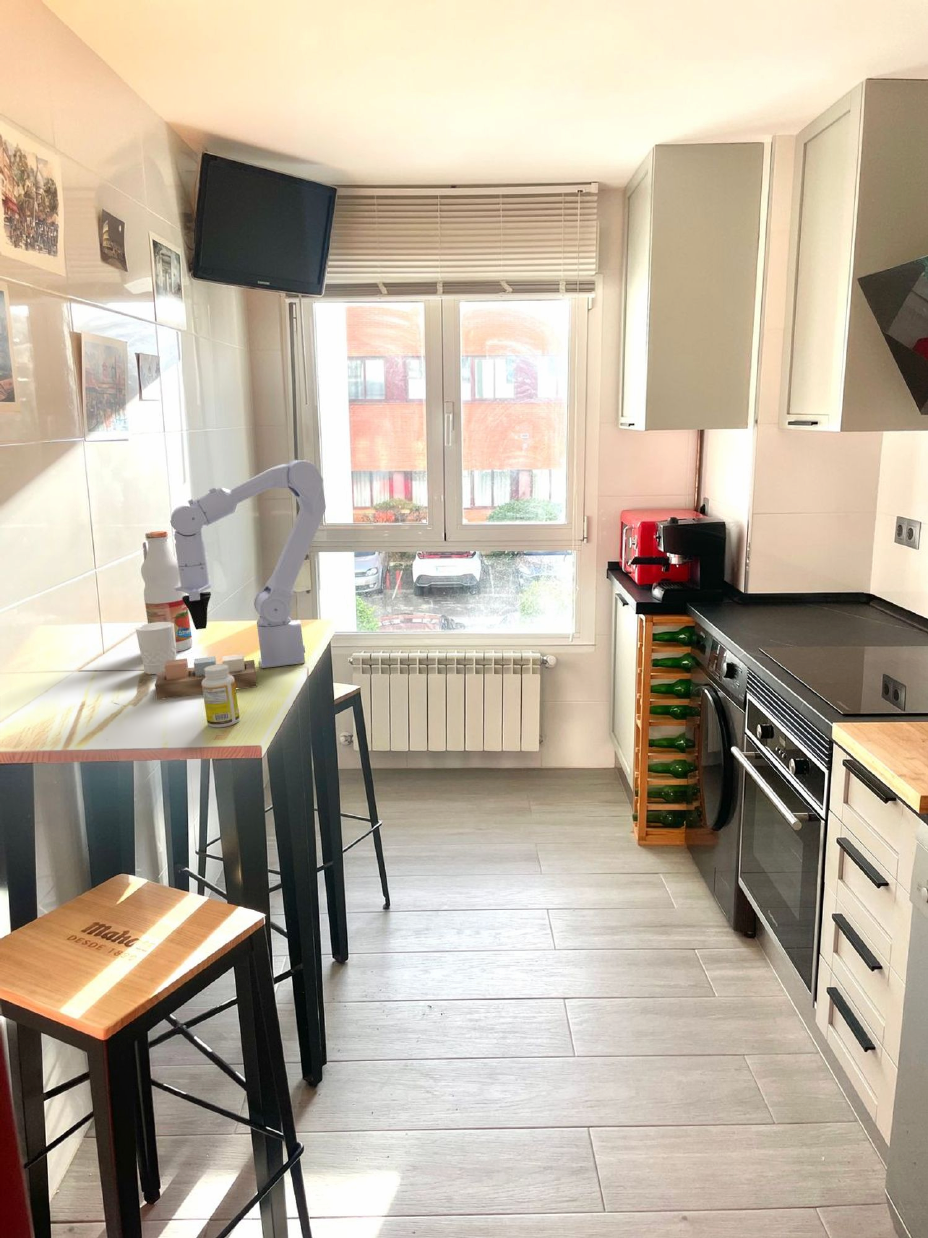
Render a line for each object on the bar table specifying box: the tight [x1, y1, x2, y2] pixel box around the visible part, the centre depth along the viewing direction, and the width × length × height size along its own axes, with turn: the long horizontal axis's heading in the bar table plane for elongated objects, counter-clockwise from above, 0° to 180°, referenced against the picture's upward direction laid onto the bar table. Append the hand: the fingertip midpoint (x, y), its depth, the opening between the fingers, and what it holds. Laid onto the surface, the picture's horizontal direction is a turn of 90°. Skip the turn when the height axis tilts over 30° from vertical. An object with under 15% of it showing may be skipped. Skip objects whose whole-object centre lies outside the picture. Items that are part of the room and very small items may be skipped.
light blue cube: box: [193, 655, 217, 676], centre depth 183 cm, size 4×4×4 cm
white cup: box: [135, 622, 178, 675], centre depth 198 cm, size 8×8×10 cm
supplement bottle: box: [202, 663, 240, 728], centre depth 159 cm, size 6×6×10 cm
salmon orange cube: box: [165, 658, 189, 680], centre depth 182 cm, size 4×4×4 cm
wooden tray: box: [154, 659, 257, 700], centre depth 184 cm, size 19×10×3 cm, turn 103°
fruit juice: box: [140, 530, 193, 653], centre depth 215 cm, size 9×9×28 cm
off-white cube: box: [222, 653, 245, 672], centre depth 185 cm, size 4×4×4 cm
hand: (201, 628), depth 191 cm, fingers closed
